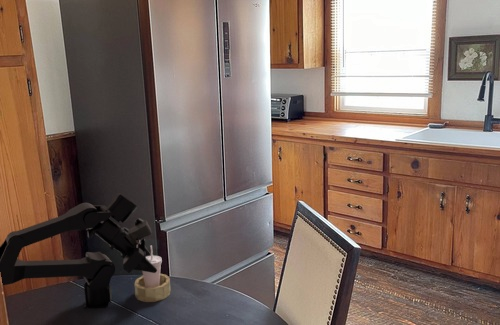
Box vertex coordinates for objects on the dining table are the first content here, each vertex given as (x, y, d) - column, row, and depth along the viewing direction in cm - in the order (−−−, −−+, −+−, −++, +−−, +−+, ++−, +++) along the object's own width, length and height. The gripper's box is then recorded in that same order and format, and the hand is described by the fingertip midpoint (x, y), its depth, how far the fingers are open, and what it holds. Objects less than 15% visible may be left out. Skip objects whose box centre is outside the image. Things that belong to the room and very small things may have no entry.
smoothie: (151, 297, 134) (148, 251, 132) (137, 291, 138) (133, 246, 136) (168, 288, 140) (165, 244, 137) (153, 283, 143) (150, 240, 141)
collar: (133, 302, 134) (132, 289, 133) (139, 286, 144) (138, 274, 143) (168, 301, 135) (167, 288, 134) (171, 284, 145) (171, 272, 144)
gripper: (133, 224, 124) (177, 259, 129) (133, 204, 142) (172, 235, 147) (104, 255, 124) (149, 289, 129) (108, 231, 142) (147, 261, 147)
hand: (155, 266), depth 138 cm, fingers closed on smoothie, 6 cm apart
